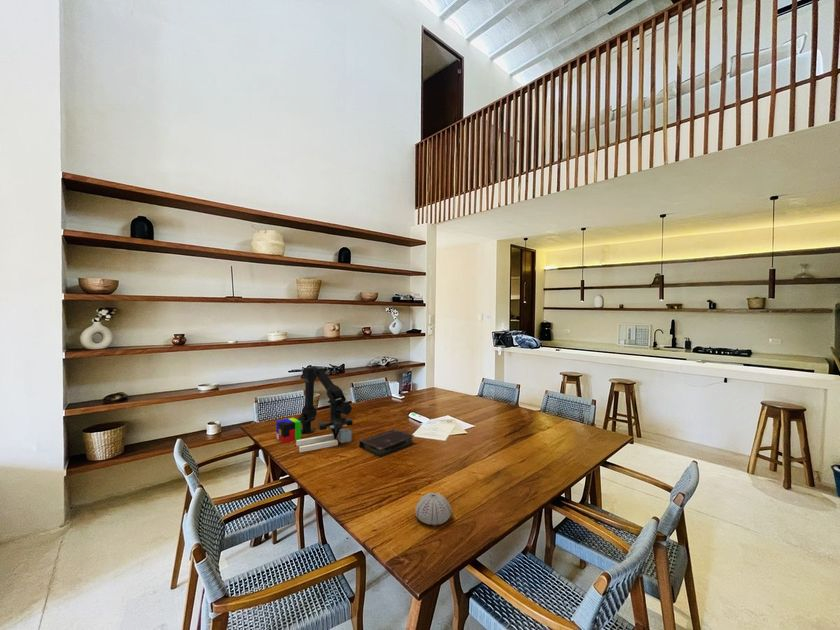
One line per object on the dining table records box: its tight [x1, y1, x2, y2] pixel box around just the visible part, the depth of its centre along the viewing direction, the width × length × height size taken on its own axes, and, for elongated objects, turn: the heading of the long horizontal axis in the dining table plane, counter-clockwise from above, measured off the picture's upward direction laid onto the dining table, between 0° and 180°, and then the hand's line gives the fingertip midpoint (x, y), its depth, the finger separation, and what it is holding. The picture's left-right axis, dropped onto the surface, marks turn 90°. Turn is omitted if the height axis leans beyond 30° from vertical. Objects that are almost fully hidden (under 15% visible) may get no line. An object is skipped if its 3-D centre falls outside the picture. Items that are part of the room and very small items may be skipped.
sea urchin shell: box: [414, 492, 452, 526], centre depth 125 cm, size 13×14×8 cm
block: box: [337, 427, 352, 444], centre depth 196 cm, size 6×6×6 cm
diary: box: [358, 428, 415, 458], centre depth 189 cm, size 19×25×5 cm
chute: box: [295, 433, 339, 453], centre depth 189 cm, size 12×20×2 cm, turn 119°
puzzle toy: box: [275, 417, 302, 444], centre depth 198 cm, size 10×10×10 cm
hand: (335, 438), depth 194 cm, fingers closed
